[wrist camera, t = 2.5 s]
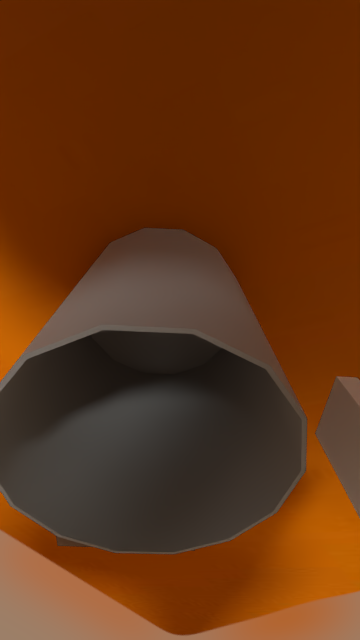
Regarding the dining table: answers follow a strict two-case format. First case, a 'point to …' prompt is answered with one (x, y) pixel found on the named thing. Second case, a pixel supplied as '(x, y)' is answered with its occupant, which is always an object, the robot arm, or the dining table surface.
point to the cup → (151, 406)
